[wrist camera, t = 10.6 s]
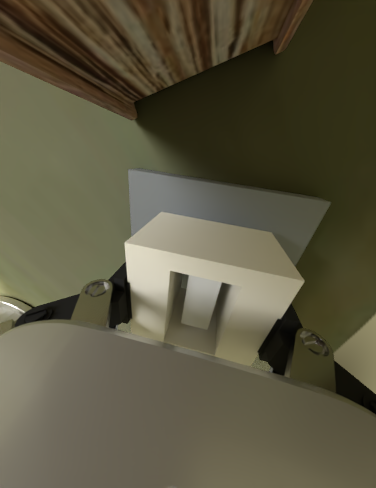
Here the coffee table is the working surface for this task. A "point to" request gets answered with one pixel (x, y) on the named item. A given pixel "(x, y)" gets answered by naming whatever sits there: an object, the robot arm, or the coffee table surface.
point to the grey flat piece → (222, 220)
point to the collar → (213, 268)
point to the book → (136, 41)
